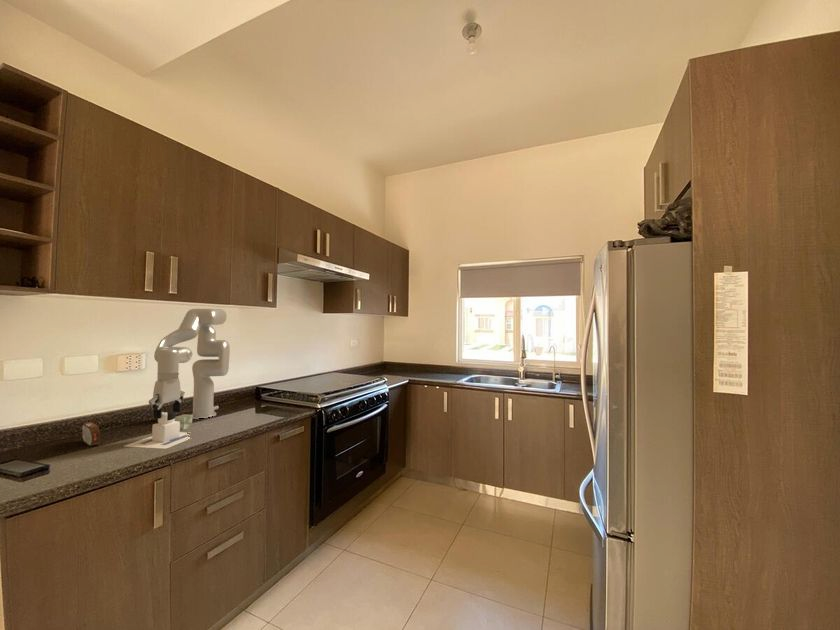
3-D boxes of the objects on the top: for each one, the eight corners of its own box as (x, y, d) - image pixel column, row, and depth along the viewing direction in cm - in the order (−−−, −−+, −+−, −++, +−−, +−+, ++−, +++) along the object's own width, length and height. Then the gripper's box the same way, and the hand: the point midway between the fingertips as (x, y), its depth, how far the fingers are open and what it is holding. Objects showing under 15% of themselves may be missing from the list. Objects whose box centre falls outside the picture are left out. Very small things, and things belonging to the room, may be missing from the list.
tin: (100, 446, 139) (101, 425, 139) (90, 448, 136) (91, 427, 137) (90, 439, 147) (90, 420, 148) (80, 441, 145) (81, 421, 145)
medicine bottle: (168, 435, 152) (168, 409, 153) (179, 437, 150) (180, 410, 151) (151, 440, 145) (152, 413, 146) (163, 442, 143) (164, 414, 144)
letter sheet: (165, 431, 159) (165, 431, 159) (203, 433, 156) (203, 433, 156) (123, 446, 139) (123, 446, 139) (166, 448, 136) (166, 448, 136)
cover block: (182, 426, 167) (183, 414, 167) (192, 427, 166) (192, 414, 167) (174, 429, 162) (174, 417, 162) (183, 430, 162) (184, 417, 162)
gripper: (176, 373, 158) (176, 409, 158) (142, 379, 141) (141, 420, 141) (191, 373, 157) (190, 410, 157) (158, 380, 140) (157, 421, 140)
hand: (167, 414), depth 149 cm, fingers open, 9 cm apart
